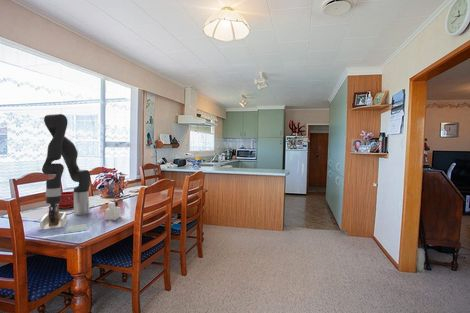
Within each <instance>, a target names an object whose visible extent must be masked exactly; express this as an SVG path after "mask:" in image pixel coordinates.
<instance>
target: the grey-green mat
mask: <svg viewBox="0 0 470 313" xmlns="http://www.w3.org/2000/svg"><path fill="white" fill-rule="evenodd" d="M87 225H88V223H85V224H78V225H77V224H75V225H69V226H67V228H66V230H65V233H69V234H72V233H75V232H76V233H79V232H82V231H84V232H86V231H87V227H88V226H87Z"/></svg>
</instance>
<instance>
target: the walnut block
mask: <svg viewBox="0 0 470 313" xmlns="http://www.w3.org/2000/svg"><path fill="white" fill-rule="evenodd" d="M59 213H60V208H58V209H57V212H56V213H55V222H54V223H50V217H49V226H54V225H58V224H59ZM52 214H53V213H52ZM52 214H51V215H52Z"/></svg>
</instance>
